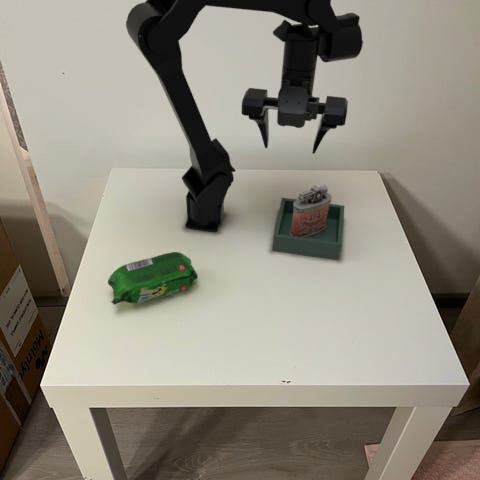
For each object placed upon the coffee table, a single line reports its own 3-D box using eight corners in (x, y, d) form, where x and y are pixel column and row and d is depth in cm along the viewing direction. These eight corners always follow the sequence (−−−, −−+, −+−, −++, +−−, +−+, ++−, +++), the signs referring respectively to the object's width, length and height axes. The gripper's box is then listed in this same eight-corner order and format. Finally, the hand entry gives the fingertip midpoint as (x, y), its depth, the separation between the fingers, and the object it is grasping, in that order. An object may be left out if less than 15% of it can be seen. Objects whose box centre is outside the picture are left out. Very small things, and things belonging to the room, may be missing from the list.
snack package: (105, 289, 85) (99, 267, 81) (189, 264, 89) (187, 242, 85) (116, 317, 80) (111, 295, 76) (203, 289, 85) (203, 267, 81)
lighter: (319, 221, 98) (327, 178, 91) (329, 231, 96) (338, 187, 89) (285, 233, 95) (291, 189, 88) (295, 243, 93) (301, 199, 86)
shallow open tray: (272, 250, 93) (273, 235, 90) (280, 212, 101) (281, 197, 98) (338, 260, 91) (341, 245, 89) (341, 220, 100) (344, 205, 97)
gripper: (236, 78, 78) (235, 166, 90) (353, 90, 76) (336, 178, 88) (248, 53, 86) (245, 137, 97) (354, 63, 84) (338, 147, 95)
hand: (289, 150), depth 94 cm, fingers open, 9 cm apart
